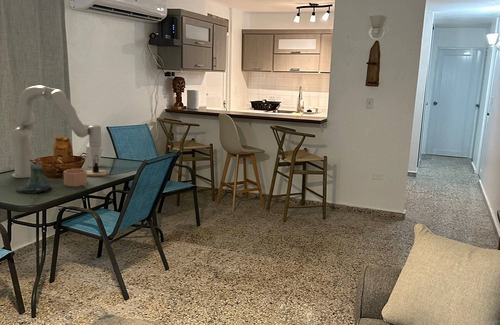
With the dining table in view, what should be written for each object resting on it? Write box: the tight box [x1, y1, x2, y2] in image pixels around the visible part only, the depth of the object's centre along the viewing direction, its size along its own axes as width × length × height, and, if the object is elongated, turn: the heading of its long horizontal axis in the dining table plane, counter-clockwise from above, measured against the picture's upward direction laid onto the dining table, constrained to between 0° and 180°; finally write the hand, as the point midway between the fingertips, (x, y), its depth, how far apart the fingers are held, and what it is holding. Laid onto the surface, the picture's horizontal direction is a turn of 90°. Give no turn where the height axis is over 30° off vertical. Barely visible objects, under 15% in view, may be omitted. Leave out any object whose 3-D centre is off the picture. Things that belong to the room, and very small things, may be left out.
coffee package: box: [52, 136, 74, 157], centre depth 309 cm, size 10×12×22 cm
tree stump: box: [15, 163, 53, 194], centre depth 252 cm, size 18×20×18 cm
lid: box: [86, 164, 108, 176], centre depth 294 cm, size 15×15×6 cm
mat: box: [87, 171, 111, 179], centre depth 294 cm, size 16×16×1 cm
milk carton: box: [85, 142, 102, 168], centre depth 318 cm, size 7×7×19 cm
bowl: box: [63, 168, 88, 187], centre depth 270 cm, size 13×13×8 cm
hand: (95, 170), depth 294 cm, fingers closed on lid, 4 cm apart
